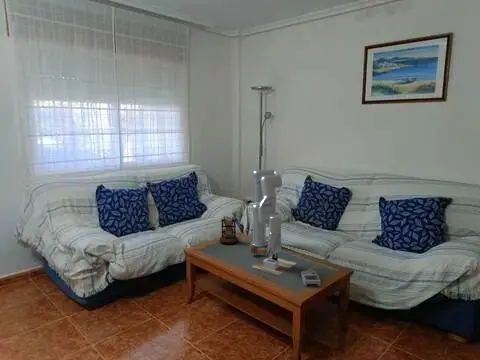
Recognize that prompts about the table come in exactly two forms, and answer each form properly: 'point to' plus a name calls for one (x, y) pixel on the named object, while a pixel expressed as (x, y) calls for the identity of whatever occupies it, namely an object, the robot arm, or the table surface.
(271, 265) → the block
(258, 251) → the lion figurine
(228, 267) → the table surface
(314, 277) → the handheld gaming device
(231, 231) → the brown upright piece
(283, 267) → the plywood board
